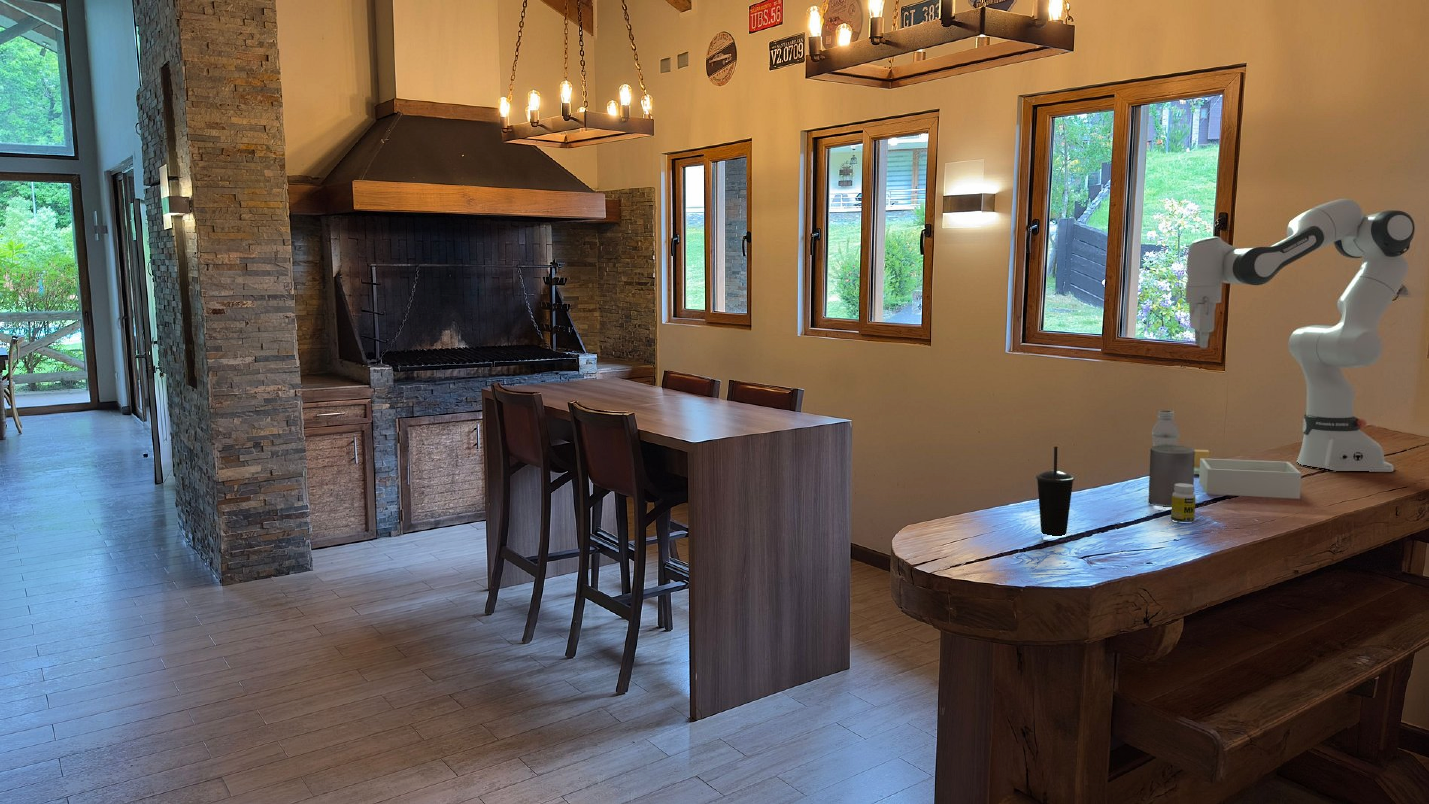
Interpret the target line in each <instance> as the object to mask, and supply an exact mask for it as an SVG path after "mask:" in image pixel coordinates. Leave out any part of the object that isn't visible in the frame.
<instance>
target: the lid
mask: <svg viewBox="0 0 1429 804" xmlns="http://www.w3.org/2000/svg"><path fill="white" fill-rule="evenodd" d="M1193 449H1194V450H1195V458H1194V475H1200V458H1203V459H1210V451H1209V450H1208V449H1195V448H1193Z"/></svg>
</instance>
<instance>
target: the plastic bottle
mask: <svg viewBox="0 0 1429 804" xmlns="http://www.w3.org/2000/svg"><path fill="white" fill-rule="evenodd" d="M1157 419H1158V421H1156V423H1155V425H1154V426H1153V428H1152V429H1151V434H1152V435H1151V437H1152V444H1153V446H1157V445H1172V443H1173V445H1178V442H1179V437H1180V430H1179V428H1178V426H1177V424H1176V423H1175V422H1174V420H1175V411H1174V410H1167V409H1165V410H1164V409H1163V410H1162V409H1161V410H1158V415H1157Z"/></svg>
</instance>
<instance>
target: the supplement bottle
mask: <svg viewBox="0 0 1429 804" xmlns="http://www.w3.org/2000/svg"><path fill="white" fill-rule="evenodd" d="M1174 491H1175V492H1174V493H1173V494H1172V509H1170V510H1171V511H1170V512H1171V513H1170V520H1171V519H1172V520H1174V521H1177V522H1194V523H1195V519H1196V518H1195V515H1196V514H1195V513H1196V497H1197V496H1196V494H1195V485H1192V484H1185V483H1177V484H1175V485H1174Z"/></svg>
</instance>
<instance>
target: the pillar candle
mask: <svg viewBox="0 0 1429 804" xmlns="http://www.w3.org/2000/svg"><path fill="white" fill-rule="evenodd" d="M1194 449H1195V448H1193V447H1190V446H1186V445H1178V444H1177V445H1173V443H1172V445H1157V446H1151V447H1150V454H1149V456H1150V457H1149V476H1148V477H1149V481H1148V502H1147V503H1148V504H1149V503H1150V504H1154V505H1159V506H1163V507H1172V494H1173V493H1174V492H1175V491H1174V485H1175V484H1177V483H1185V484H1192V485H1194V483H1195V481H1194V478H1195V477H1194V476H1195V474H1194V458H1195V450H1196V449H1195V450H1194ZM1194 486H1195V485H1194ZM1150 504H1149V505H1150Z"/></svg>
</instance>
